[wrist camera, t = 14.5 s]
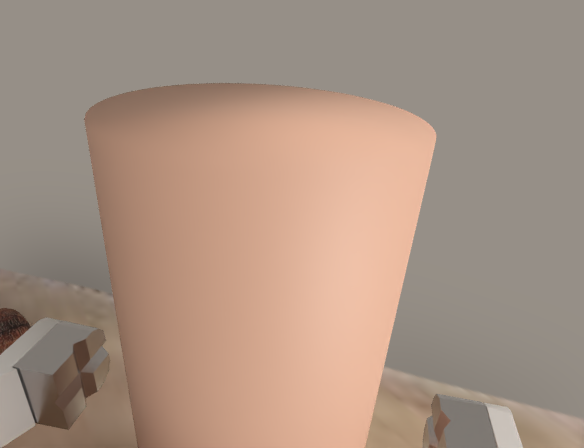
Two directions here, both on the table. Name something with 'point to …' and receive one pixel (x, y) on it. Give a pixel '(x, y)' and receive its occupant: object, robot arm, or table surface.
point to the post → (255, 257)
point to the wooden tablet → (11, 327)
